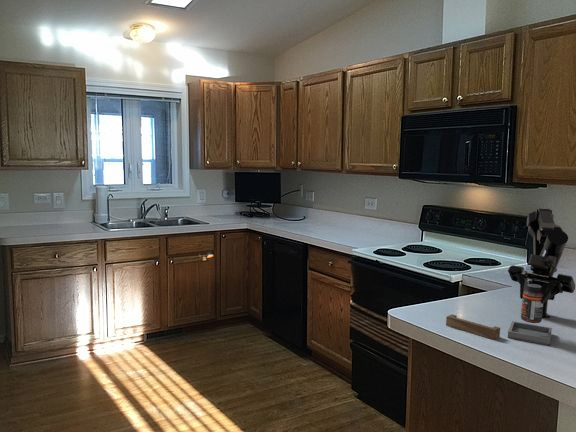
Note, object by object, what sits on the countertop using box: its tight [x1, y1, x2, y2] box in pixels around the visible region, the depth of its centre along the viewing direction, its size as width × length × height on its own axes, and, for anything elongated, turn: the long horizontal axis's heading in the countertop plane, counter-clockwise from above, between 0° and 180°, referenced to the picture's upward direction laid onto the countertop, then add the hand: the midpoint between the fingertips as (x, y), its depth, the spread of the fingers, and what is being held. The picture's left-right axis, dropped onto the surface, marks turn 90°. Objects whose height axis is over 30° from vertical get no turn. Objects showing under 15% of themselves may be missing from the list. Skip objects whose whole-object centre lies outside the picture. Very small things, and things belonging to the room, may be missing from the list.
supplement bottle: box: [520, 284, 544, 324], centre depth 155 cm, size 6×6×11 cm
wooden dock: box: [445, 313, 501, 340], centre depth 159 cm, size 4×16×3 cm, turn 43°
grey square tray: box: [507, 320, 553, 346], centre depth 156 cm, size 12×12×2 cm
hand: (531, 300), depth 154 cm, fingers closed on supplement bottle, 6 cm apart
